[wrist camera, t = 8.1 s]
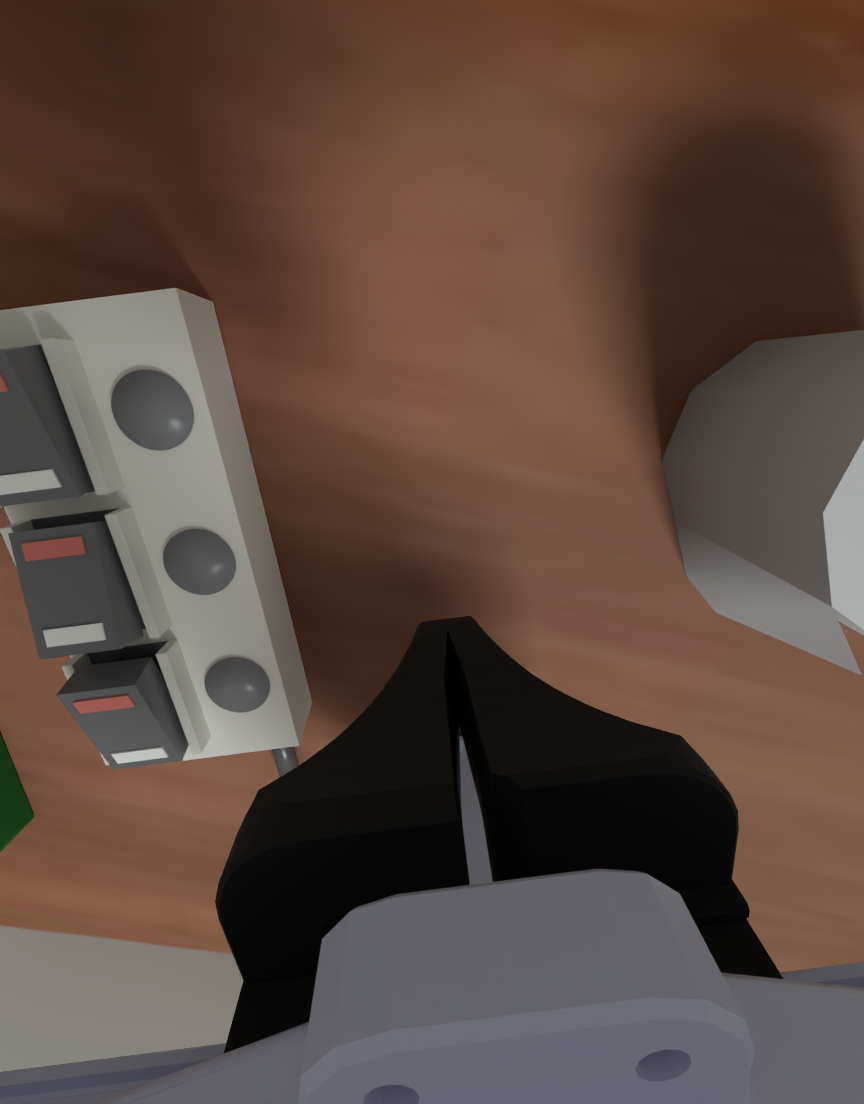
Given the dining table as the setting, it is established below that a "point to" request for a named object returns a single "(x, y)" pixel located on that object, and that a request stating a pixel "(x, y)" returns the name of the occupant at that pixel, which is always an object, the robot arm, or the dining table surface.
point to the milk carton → (11, 800)
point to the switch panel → (174, 511)
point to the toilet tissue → (777, 490)
